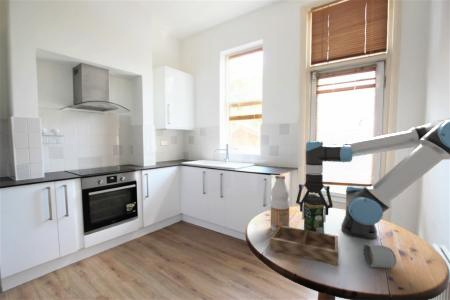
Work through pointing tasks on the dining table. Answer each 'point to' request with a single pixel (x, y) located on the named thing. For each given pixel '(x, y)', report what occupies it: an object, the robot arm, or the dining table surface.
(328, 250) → the wooden divided tray
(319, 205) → the coffee jar
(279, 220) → the fruit juice
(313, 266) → the dining table surface
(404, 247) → the dining table surface
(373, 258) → the ceramic mug
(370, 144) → the robot arm
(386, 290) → the dining table surface
